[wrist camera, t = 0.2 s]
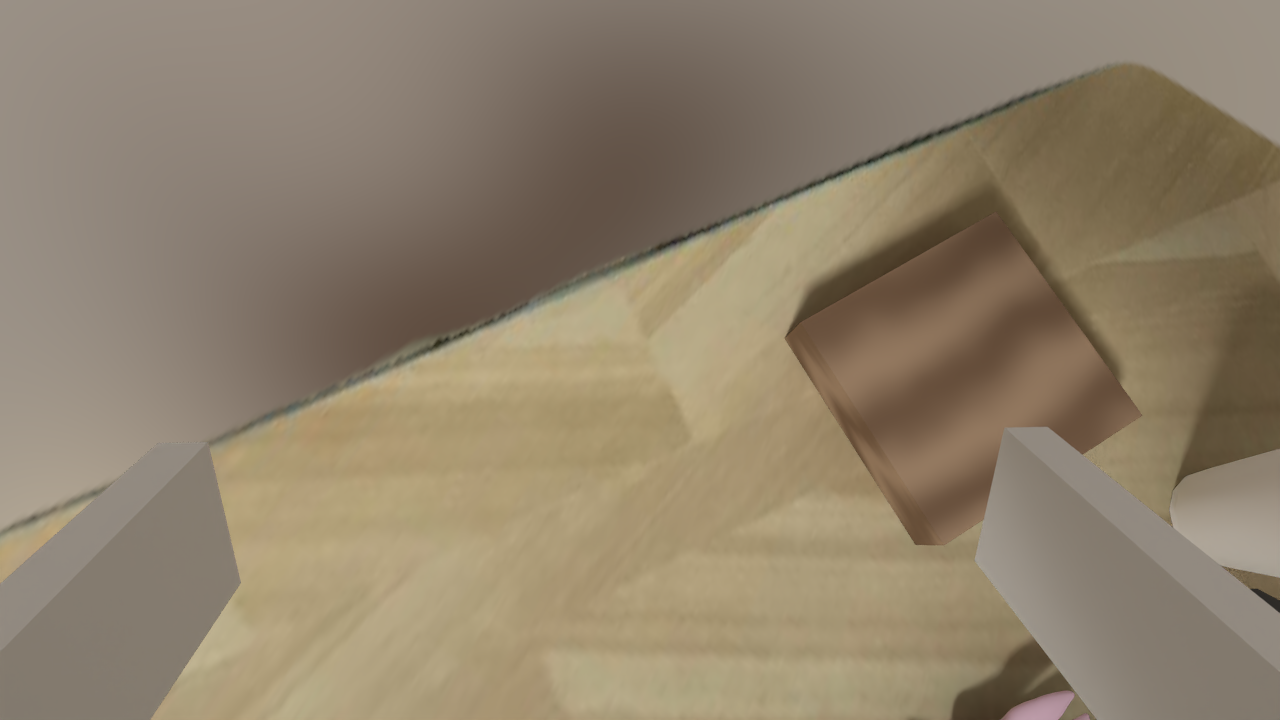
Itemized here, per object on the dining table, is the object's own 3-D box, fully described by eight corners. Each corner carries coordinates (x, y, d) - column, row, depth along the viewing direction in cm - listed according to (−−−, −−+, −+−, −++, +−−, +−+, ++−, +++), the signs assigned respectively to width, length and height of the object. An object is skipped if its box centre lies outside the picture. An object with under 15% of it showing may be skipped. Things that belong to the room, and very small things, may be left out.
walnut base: (1100, 424, 51) (1142, 415, 47) (915, 544, 48) (943, 545, 44) (966, 234, 54) (996, 211, 50) (784, 338, 51) (800, 322, 47)
